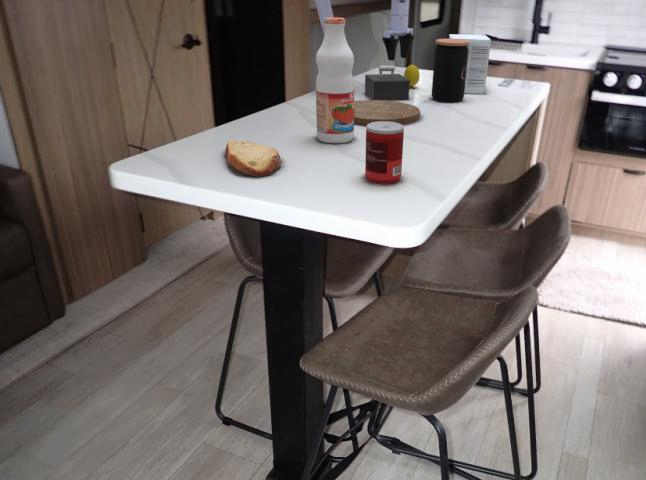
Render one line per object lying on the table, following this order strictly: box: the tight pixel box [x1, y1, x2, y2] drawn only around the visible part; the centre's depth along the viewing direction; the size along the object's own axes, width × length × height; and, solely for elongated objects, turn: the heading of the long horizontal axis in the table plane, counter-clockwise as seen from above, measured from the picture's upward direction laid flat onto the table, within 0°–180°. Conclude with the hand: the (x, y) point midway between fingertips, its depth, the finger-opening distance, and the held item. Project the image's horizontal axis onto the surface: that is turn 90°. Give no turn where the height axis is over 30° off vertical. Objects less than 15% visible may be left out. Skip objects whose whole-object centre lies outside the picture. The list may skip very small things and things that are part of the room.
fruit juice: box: [315, 16, 355, 144], centre depth 144 cm, size 9×9×28 cm
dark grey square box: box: [364, 76, 410, 101], centre depth 197 cm, size 12×12×5 cm
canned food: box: [364, 121, 405, 185], centre depth 123 cm, size 8×8×11 cm
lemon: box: [403, 63, 421, 89], centre depth 211 cm, size 6×6×8 cm
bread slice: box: [225, 140, 282, 178], centre depth 132 cm, size 18×18×4 cm
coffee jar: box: [431, 38, 469, 104], centre depth 192 cm, size 11×11×18 cm
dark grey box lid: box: [364, 65, 410, 84], centre depth 194 cm, size 12×12×4 cm
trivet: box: [354, 99, 421, 127], centre depth 174 cm, size 25×25×2 cm
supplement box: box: [448, 33, 492, 95], centre depth 207 cm, size 13×13×18 cm
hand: (397, 59), depth 203 cm, fingers open, 7 cm apart
